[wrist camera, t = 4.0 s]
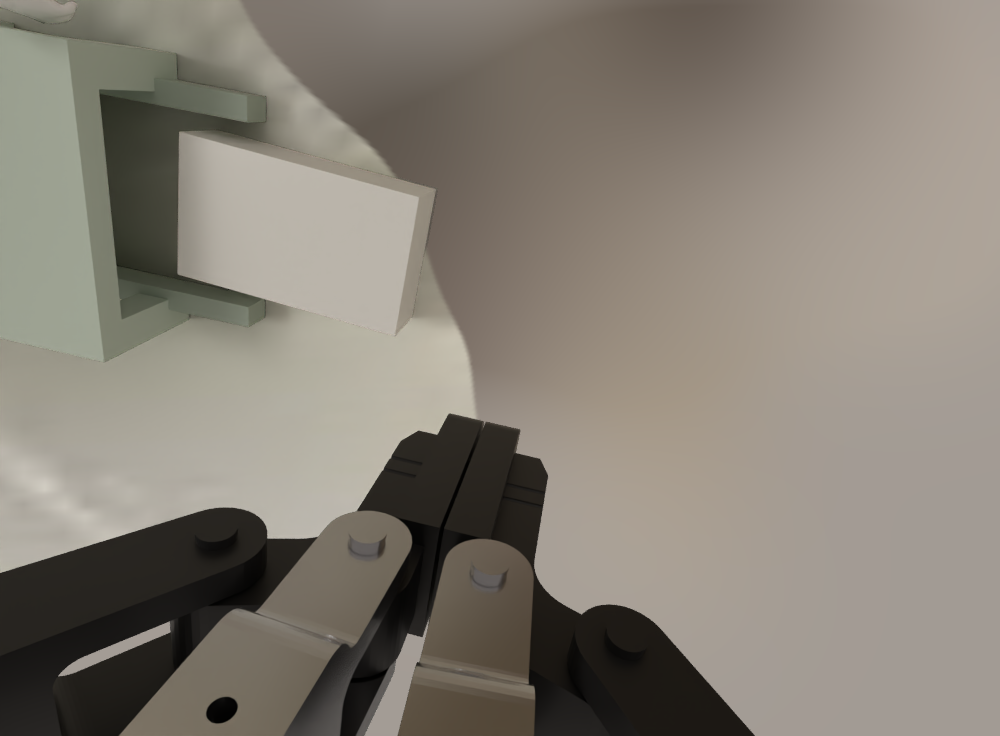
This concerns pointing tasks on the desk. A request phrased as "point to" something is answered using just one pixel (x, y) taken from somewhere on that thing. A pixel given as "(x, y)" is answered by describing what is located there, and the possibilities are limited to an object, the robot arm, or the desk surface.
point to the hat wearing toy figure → (42, 9)
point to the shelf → (88, 197)
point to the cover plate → (301, 229)
